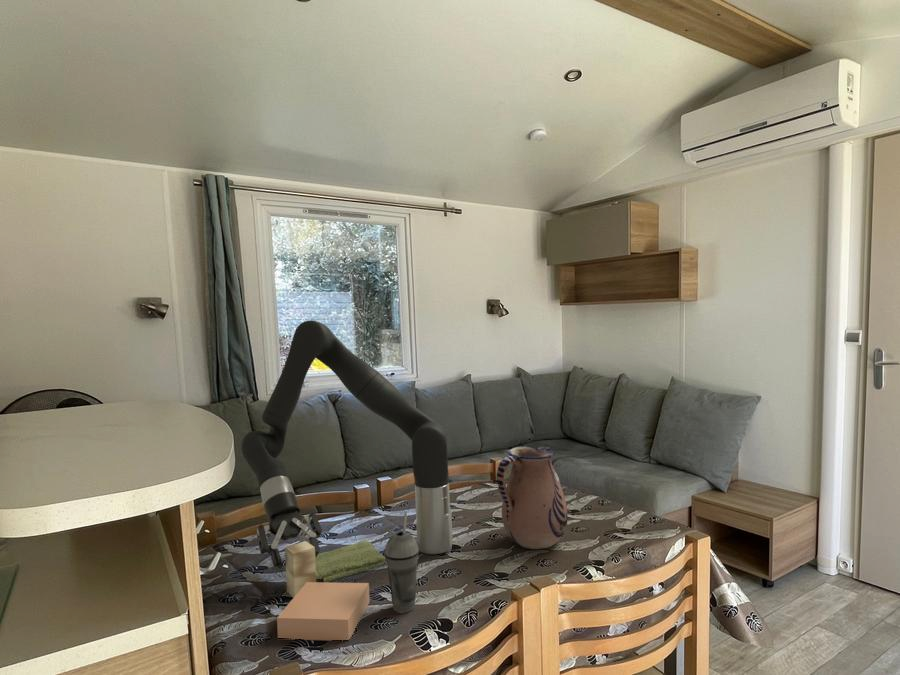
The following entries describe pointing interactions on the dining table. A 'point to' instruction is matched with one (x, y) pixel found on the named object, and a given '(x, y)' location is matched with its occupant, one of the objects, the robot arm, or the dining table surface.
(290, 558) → the birch block
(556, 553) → the dining table surface
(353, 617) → the terracotta plinth
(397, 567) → the beverage cup
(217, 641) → the dining table surface
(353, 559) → the washcloth
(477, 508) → the dining table surface
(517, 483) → the ceramic pitcher
